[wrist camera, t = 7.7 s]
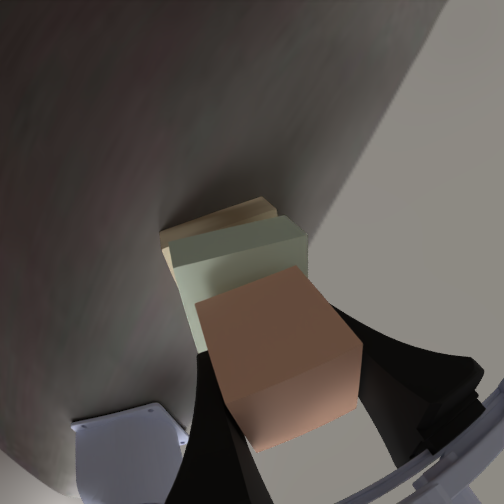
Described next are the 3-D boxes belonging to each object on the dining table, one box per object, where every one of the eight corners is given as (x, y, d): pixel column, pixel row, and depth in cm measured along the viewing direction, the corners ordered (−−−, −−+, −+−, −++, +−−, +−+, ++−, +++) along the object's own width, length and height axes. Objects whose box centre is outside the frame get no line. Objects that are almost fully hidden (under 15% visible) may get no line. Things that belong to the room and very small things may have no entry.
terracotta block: (224, 368, 15) (256, 453, 10) (194, 303, 12) (225, 403, 8) (306, 335, 15) (356, 407, 11) (296, 265, 13) (362, 343, 9)
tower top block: (193, 332, 17) (201, 363, 15) (168, 241, 14) (172, 268, 12) (288, 305, 19) (306, 331, 17) (285, 214, 16) (307, 235, 14)
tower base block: (192, 308, 20) (199, 334, 18) (158, 229, 16) (161, 249, 14) (277, 277, 21) (292, 298, 18) (259, 194, 17) (276, 208, 15)
